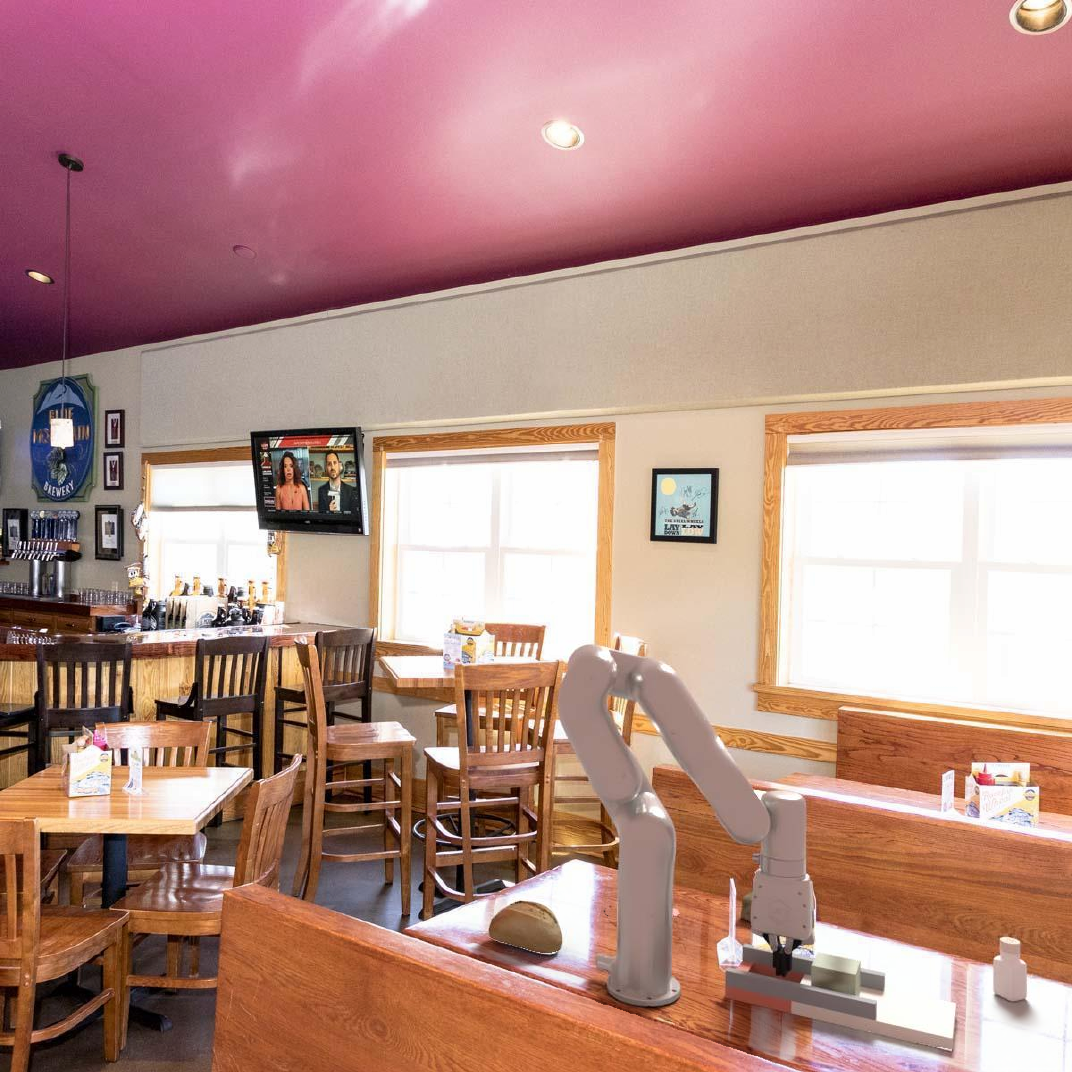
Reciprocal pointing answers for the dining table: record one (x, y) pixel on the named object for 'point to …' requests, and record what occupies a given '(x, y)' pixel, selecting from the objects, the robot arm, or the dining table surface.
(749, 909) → the stone block
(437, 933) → the dining table surface
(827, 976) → the sage block
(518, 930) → the bread roll
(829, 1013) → the track
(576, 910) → the dining table surface
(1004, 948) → the salt shaker
